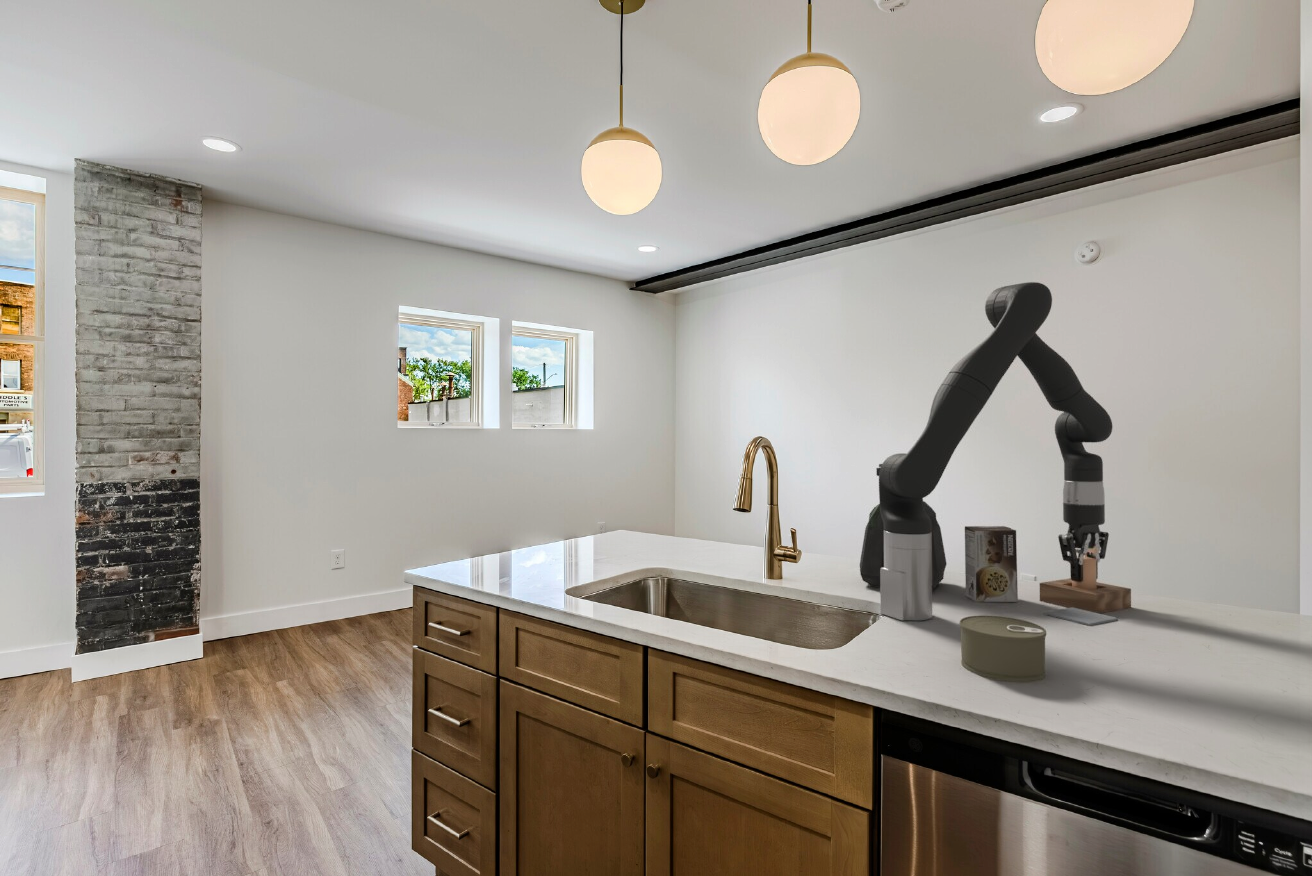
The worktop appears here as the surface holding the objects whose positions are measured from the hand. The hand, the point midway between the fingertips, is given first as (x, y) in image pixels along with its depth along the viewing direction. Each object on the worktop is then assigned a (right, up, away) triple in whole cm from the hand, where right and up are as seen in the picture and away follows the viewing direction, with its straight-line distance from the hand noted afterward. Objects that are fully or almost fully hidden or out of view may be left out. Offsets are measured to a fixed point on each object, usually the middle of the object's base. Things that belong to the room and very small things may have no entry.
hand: (1084, 579), depth 139 cm
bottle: (-32, -6, +20) cm, 38 cm away
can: (-39, -6, -38) cm, 55 cm away
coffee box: (-18, -6, +5) cm, 19 cm away
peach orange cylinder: (0, -5, 0) cm, 5 cm away
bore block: (0, -5, 0) cm, 5 cm away
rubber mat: (-8, -5, -10) cm, 14 cm away
